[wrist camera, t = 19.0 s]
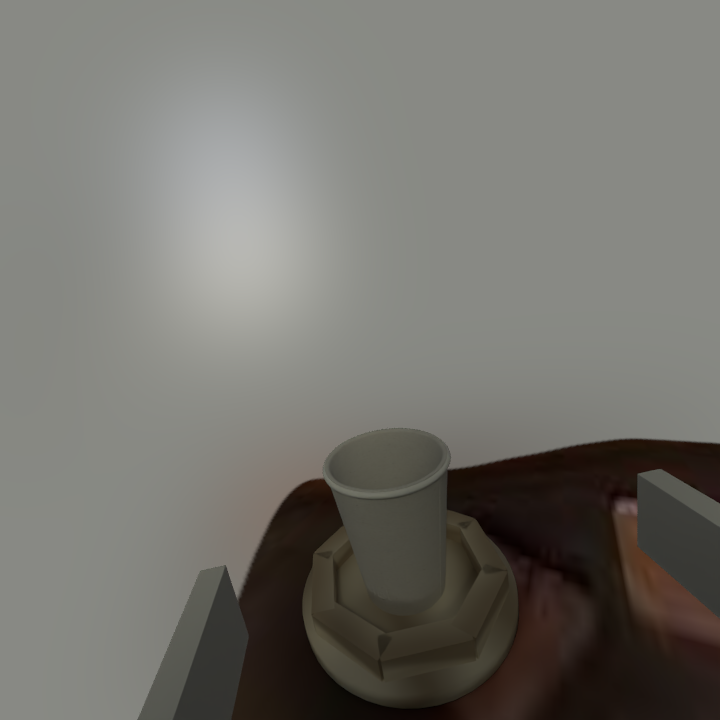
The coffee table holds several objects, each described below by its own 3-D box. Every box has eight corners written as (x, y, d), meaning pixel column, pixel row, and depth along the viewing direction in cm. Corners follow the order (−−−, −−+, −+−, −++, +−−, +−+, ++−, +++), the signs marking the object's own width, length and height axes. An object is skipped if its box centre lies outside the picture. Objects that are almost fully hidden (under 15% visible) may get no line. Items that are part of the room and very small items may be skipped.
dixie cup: (391, 525, 32) (373, 420, 30) (484, 563, 27) (472, 438, 25) (324, 596, 26) (295, 472, 24) (426, 663, 21) (403, 510, 19)
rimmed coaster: (467, 506, 35) (464, 483, 34) (571, 672, 20) (570, 637, 20) (308, 540, 34) (303, 516, 33) (298, 739, 19) (288, 703, 19)
